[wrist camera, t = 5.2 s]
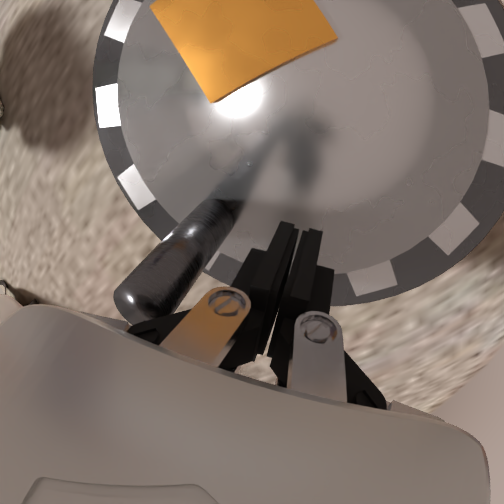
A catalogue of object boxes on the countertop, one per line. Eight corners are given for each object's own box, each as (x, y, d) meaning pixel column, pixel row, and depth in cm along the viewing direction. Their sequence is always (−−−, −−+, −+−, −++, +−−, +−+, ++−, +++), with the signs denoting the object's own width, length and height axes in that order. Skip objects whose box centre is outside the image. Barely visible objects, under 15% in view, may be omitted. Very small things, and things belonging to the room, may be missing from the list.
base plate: (439, 327, 16) (443, 344, 15) (118, 249, 20) (107, 260, 19) (532, -27, 3) (544, -32, 2) (117, -70, 8) (102, -75, 6)
